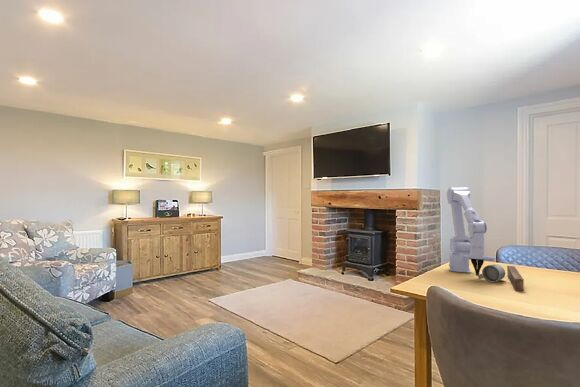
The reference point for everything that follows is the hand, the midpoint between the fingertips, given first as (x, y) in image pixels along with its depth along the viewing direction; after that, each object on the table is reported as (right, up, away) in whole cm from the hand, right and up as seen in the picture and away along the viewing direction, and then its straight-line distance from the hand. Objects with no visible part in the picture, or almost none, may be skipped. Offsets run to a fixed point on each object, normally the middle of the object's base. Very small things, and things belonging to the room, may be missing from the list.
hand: (477, 275), depth 154 cm
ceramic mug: (+5, -2, -2) cm, 6 cm away
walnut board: (+13, -2, -7) cm, 15 cm away
